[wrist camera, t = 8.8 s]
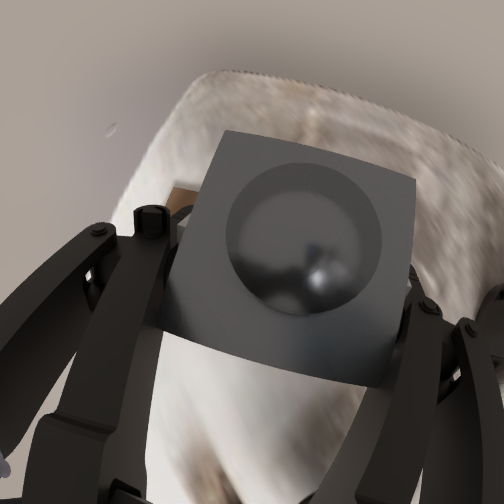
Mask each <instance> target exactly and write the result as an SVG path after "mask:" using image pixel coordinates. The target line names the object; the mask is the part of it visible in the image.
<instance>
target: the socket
mask: <svg viewBox="0 0 504 504" xmlns="http://www.w3.org/2000/svg"><path fill="white" fill-rule="evenodd" d="M415 200H416V179H414V178H411V177H409V176H406V175H403V174H400V173H398V172H395V171H392V170H389V169H386V168H383V167H380V166H377V165H374V164H371V163H368V162H365V161H361V160H358V159H355V158H352V157H348V156H345V155H341V154H337V153H334V152H330V151H326V150H322V149H319V148H315V147H311V146H306V145H302V144H298V143H293V142H289V141H284V140H279V139H274V138H269V137H264V136H259V135H253V134H247V133H241V132H235V131H228V130H225V132H224V134H223V136H222V139H221V141H220V143H219V145H218V148H217V150H216V152H215V155H214V157H213V159H212V162H211V164H210V167H209V169H208V171H207V174H206V176H205V179H204V181H203V184H202V186H201V189H200V191H199V194H198V196H197V199H196V201H195V204H194V206H193V209H192V212H191V214H190V217H189V220H188V222H187V225H186V228H185V231H184V233H183V236H182V239H181V242H180V245H179V247H178V250H177V253H176V256H175V259H174V262H173V265H172V268H171V271H170V274H169V277H168V280H167V283H166V286H165V290H164V293H163V296H162V299H161V303H160V306H159V309H158V313H157V324H156V328H158V329H161V330H163V331H166V332H168V333H171V334H173V335H176V336H179V337H181V338H184V339H187V340H189V341H192V342H195V343H198V344H201V345H204V346H206V347H209V348H212V349H215V350H218V351H221V352H225V353H228V354H231V355H234V356H237V357H241V358H244V359H247V360H251V361H254V362H258V363H261V364H265V365H268V366H272V367H276V368H280V369H284V370H288V371H292V372H296V373H300V374H304V375H308V376H313V377H318V378H322V379H327V380H332V381H337V382H342V383H348V384H353V385H359V386H365V387H372V388H377V387H378V385H379V383H380V381H381V380H382V378H383V376H384V374H385V372H386V370H387V368H388V366H389V364H390V361H391V357H392V353H393V350H394V346H395V342H396V338H397V334H398V330H399V325H400V321H401V316H402V311H403V306H404V301H405V295H406V289H407V283H408V277H409V270H410V262H411V254H412V245H413V234H414V221H415Z"/></svg>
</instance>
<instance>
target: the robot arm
mask: <svg viewBox="0 0 504 504" xmlns="http://www.w3.org/2000/svg"><path fill="white" fill-rule="evenodd" d="M193 206H194V205H192V204H191V205H188V206H185V207H183V208H181V209H180V210H179V211H177V212H176V213H175V214H173V215H172V217H170V210H169V209H168V208H167V207H164V206H161V205H146V206H142V207H139V208H137V209H136V210H134V211H133V213H134V229H135V233H134V235H133V236H132V237H129V236H117V235H116V227H115V226H114V225H113V224H110V223H105V222H101V223H100V222H99V223H96V224H93V225H91V226H89V227H87V228H85V229H84V230H83V231H82V232H80V233H79V234H78V235H77V236H75V237H74V238H73V239H72V240H70V241H69V242H68V243H67V244H65V245H64V246H63V247H62V248H61V249H59V250H58V251H57V252H56V253H55V254H53V255H52V256H51V257H50V258H49V259H48V260H46V262H44V263H43V264H42V265H41V266H40V267H39V268H38V269H37V270H35V271H34V272H33V273H32V274H31V275H30V276H29V277H28V278H27V279H26V280H25V281H24V282H23V283H21V284H20V285H19V286H18V287H17V288H16V289H15V290H14V292H13V293H11V294H10V295H9V296H8V297H7V298H6V300H5V301H4V302H3V303H2V304H1V305H0V478H1V477H3V478H7V477H9V476H10V473H11V469H10V466H9V464H8V462H7V461H6V460H5V458H6V457H7V456H9V455H10V454H11V453H12V452H13V450H14V449H15V448H16V446H17V445H18V444H19V443H20V441H21V440H22V438H23V436H24V435H25V433H26V432H27V430H28V428H29V426H30V424H31V422H32V421H33V419H34V417H35V416H36V414H37V412H38V410H39V409H40V407H41V405H42V404H43V402H44V400H45V399H46V397H47V396H48V394H49V392H50V391H51V389H52V388H53V386H54V384H55V383H56V381H57V380H58V378H59V376H60V375H61V374H62V372H63V371H64V369H65V368H66V366H67V365H68V363H69V362H70V360H71V359H72V357H73V356H74V354H75V353H76V351H77V353H76V355H75V358H74V360H73V363H72V366H71V369H70V371H69V374H68V377H67V380H66V383H65V386H64V389H63V392H62V395H61V398H60V402H59V405H58V407H57V409H56V410H55V411H54V413H50V414H46V415H44V416H43V417H42V418H41V419H40V420H39V421H38V424H37V426H36V428H35V432H34V435H33V439H32V443H31V448H30V452H29V457H28V462H27V467H26V473H25V479H24V485H23V492H22V497H21V498H12V499H1V500H0V504H153V503H151V502H149V501H146V489H147V472H146V467H145V449H146V440H147V431H148V423H149V415H150V408H151V401H152V394H153V387H154V381H155V375H156V369H157V363H158V358H159V352H160V347H161V342H162V337H163V332H164V331H163V330H161V329H158V328H156V324H157V313H158V309H159V306H160V303H161V299H162V296H163V293H164V290H165V286H166V283H167V280H168V277H169V274H170V271H171V268H172V265H173V262H174V259H175V256H176V253H177V250H178V247H179V245H180V242H181V239H182V236H183V233H184V231H185V228H186V225H187V222H188V220H189V217H190V214H191V212H192V209H193ZM89 270H90V273H91V278H90V279H89V280H88V281H87V280H86V277H85V275H86V274H87V272H88V271H89ZM459 368H460V372H461V376H460V377H459V378H458V379H457V380H455V381H454V378H453V375H454V374H455V373H456V372H457V371H458V370H459ZM499 384H504V284H500V285H498V286H496V287H494V288H493V289H492V290H491V291H490V292H489V293H488V294H487V296H486V297H485V299H484V301H483V303H482V305H481V307H480V310H479V313H478V316H477V320H476V322H475V321H473V320H471V319H469V318H464V317H463V318H461V319H460V320H459V321H458V323H457V324H456V326H455V325H453V324H451V323H449V322H447V321H445V320H444V319H442V311H441V309H440V307H439V306H438V305H437V304H436V303H435V302H434V301H433V300H432V299H430V298H428V297H426V296H425V294H424V291H423V288H422V286H421V283H420V282H419V278H418V276H417V273H416V271H415V269H414V267H413V266H412V265H411V264H410V270H409V277H408V283H407V289H406V295H405V301H404V306H403V311H402V316H401V321H400V325H399V330H398V334H397V338H396V342H395V346H394V350H393V353H392V357H391V361H390V364H389V366H388V368H387V370H386V372H385V374H384V376H383V378H382V380H381V381H380V383H379V385H378V387H377V388H372V387H367V390H366V392H365V395H364V397H363V400H362V402H361V405H360V407H359V409H358V412H357V414H356V416H355V419H354V421H353V423H352V425H351V428H350V430H349V432H348V434H347V436H346V438H345V440H344V442H343V444H342V446H341V448H340V450H339V452H338V454H337V456H336V458H335V460H334V462H333V463H332V465H331V467H330V469H329V471H328V473H327V474H326V476H325V478H324V479H323V481H322V483H321V485H320V486H319V488H318V489H317V491H316V493H315V494H314V496H313V497H312V499H311V501H310V502H309V503H308V504H410V503H411V501H412V498H413V495H414V492H415V490H416V487H417V484H418V481H419V478H420V474H421V471H422V468H423V474H422V484H421V492H420V500H419V504H504V408H503V403H502V398H501V393H500V389H499Z"/></svg>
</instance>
